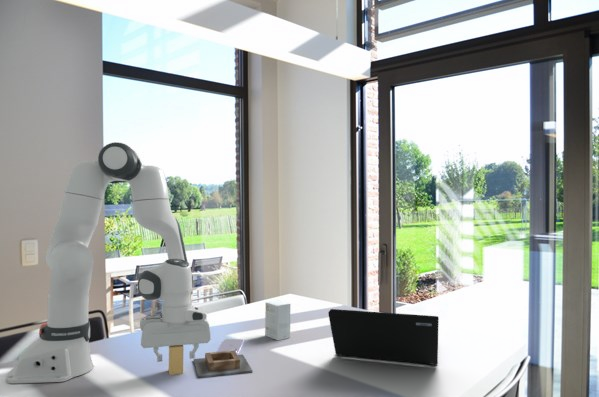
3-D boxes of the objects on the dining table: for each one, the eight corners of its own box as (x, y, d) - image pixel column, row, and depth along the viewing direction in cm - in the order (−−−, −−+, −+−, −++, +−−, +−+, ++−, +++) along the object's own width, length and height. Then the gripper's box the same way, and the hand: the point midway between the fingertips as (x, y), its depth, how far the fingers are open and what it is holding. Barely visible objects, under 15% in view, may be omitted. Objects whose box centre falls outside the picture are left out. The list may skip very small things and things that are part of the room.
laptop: (436, 345, 168) (437, 292, 168) (438, 384, 132) (439, 316, 132) (347, 336, 177) (347, 286, 177) (326, 371, 141) (326, 308, 141)
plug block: (169, 374, 135) (169, 347, 135) (168, 370, 139) (169, 343, 139) (183, 373, 137) (183, 346, 137) (182, 368, 140) (182, 342, 141)
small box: (290, 337, 174) (291, 303, 174) (277, 340, 170) (277, 305, 170) (277, 333, 180) (278, 299, 180) (264, 335, 176) (265, 301, 176)
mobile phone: (244, 338, 170) (238, 352, 155) (244, 341, 170) (238, 355, 155) (224, 338, 170) (216, 351, 155) (224, 341, 170) (216, 354, 155)
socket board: (198, 378, 133) (198, 367, 133) (193, 360, 147) (193, 351, 147) (252, 372, 138) (252, 362, 138) (242, 356, 152) (242, 346, 152)
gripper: (140, 318, 132) (139, 366, 132) (211, 313, 138) (211, 359, 138) (140, 313, 138) (139, 359, 138) (209, 309, 144) (208, 353, 144)
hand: (176, 359), depth 138 cm, fingers open, 8 cm apart
